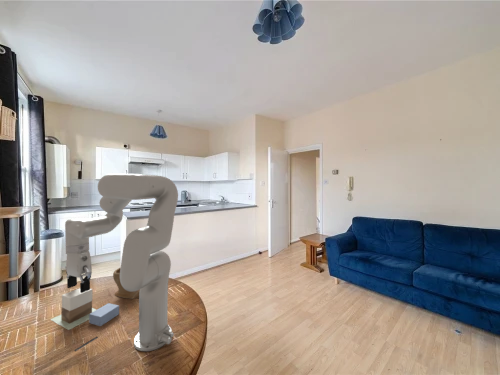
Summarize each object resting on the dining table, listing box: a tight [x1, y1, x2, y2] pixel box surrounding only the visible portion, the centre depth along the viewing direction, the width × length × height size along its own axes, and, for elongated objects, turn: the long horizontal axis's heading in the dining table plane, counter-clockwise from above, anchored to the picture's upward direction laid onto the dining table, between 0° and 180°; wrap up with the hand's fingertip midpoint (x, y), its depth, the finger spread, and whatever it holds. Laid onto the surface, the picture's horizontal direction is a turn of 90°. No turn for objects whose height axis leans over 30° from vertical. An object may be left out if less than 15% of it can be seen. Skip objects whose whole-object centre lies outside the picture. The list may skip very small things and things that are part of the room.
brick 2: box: [60, 300, 93, 324], centre depth 86 cm, size 6×8×5 cm
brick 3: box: [88, 302, 120, 327], centre depth 84 cm, size 6×8×5 cm
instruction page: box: [73, 336, 99, 352], centre depth 74 cm, size 9×7×1 cm
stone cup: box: [112, 267, 140, 300], centre depth 103 cm, size 15×12×15 cm
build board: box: [50, 307, 97, 331], centre depth 86 cm, size 14×12×1 cm
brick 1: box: [61, 287, 93, 311], centre depth 86 cm, size 6×8×5 cm
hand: (78, 288), depth 85 cm, fingers open, 9 cm apart
